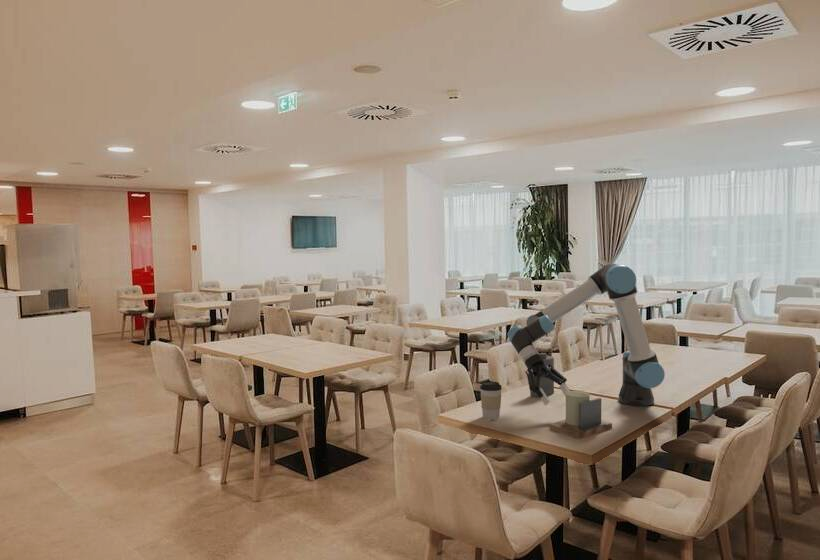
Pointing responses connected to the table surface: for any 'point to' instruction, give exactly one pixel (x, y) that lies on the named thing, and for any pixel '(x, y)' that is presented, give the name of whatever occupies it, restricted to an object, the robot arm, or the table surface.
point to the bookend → (590, 415)
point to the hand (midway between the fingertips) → (559, 400)
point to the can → (574, 406)
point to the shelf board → (577, 429)
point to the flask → (545, 382)
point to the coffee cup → (490, 399)
